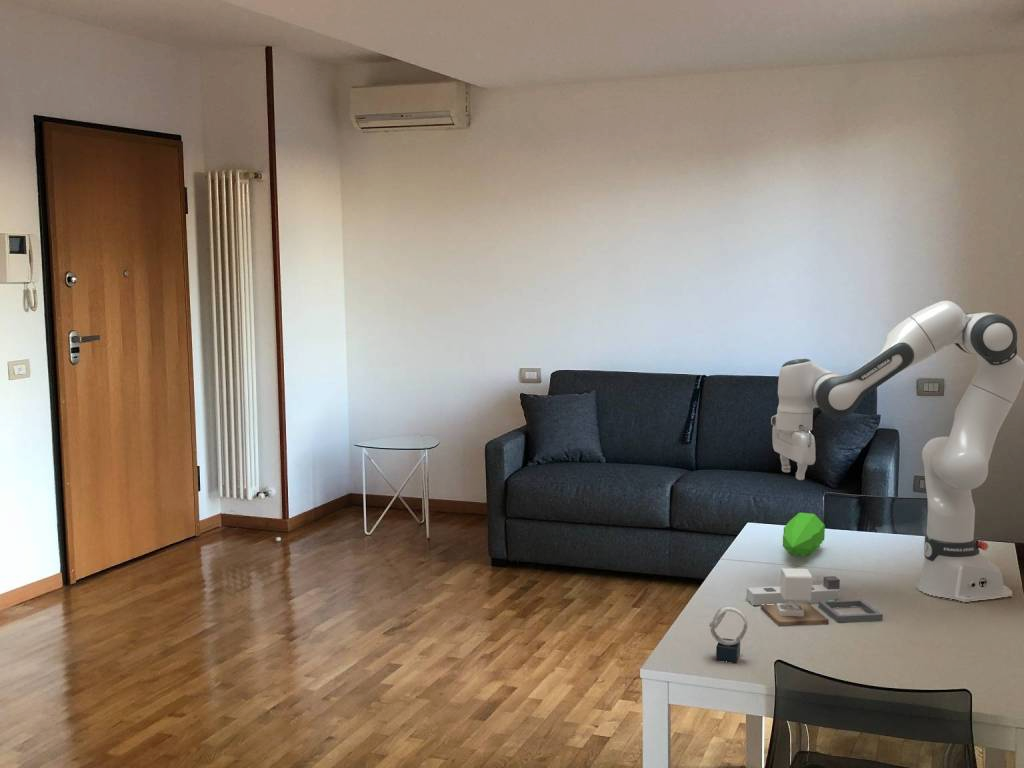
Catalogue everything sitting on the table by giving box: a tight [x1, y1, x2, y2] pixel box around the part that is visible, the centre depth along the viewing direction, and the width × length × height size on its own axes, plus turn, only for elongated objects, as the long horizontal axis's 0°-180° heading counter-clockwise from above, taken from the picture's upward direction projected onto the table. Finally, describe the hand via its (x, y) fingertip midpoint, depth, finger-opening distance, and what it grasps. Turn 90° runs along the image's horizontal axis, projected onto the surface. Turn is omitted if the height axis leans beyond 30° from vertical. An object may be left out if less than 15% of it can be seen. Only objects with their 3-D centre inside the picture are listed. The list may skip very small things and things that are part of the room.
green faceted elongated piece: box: [782, 512, 826, 558], centre depth 303 cm, size 11×12×30 cm
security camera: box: [777, 567, 813, 616], centre depth 252 cm, size 6×7×10 cm
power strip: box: [745, 575, 841, 606], centre depth 262 cm, size 22×8×5 cm, turn 97°
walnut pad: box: [760, 603, 830, 627], centre depth 253 cm, size 12×12×1 cm
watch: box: [709, 605, 749, 664], centre depth 227 cm, size 6×8×11 cm
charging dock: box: [818, 599, 884, 623], centre depth 254 cm, size 11×11×2 cm
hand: (792, 475), depth 273 cm, fingers open, 8 cm apart
